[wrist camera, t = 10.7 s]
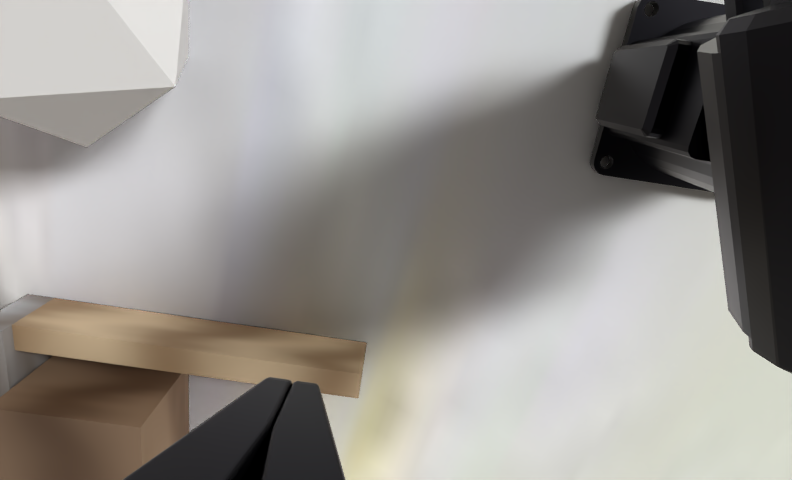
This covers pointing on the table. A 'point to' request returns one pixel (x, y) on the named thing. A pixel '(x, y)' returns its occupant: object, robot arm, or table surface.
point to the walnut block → (89, 420)
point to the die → (88, 62)
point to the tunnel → (170, 345)
